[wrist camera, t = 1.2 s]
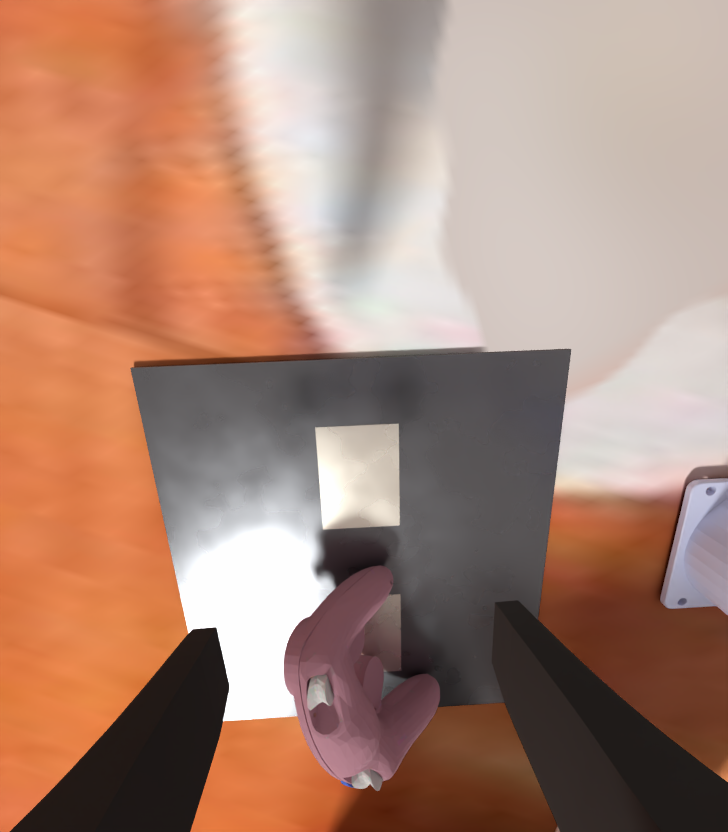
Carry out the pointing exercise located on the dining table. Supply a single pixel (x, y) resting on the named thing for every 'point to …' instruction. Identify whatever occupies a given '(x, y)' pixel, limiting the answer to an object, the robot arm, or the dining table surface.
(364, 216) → the dining table surface
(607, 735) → the robot arm
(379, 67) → the dining table surface
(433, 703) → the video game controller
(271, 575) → the panel
